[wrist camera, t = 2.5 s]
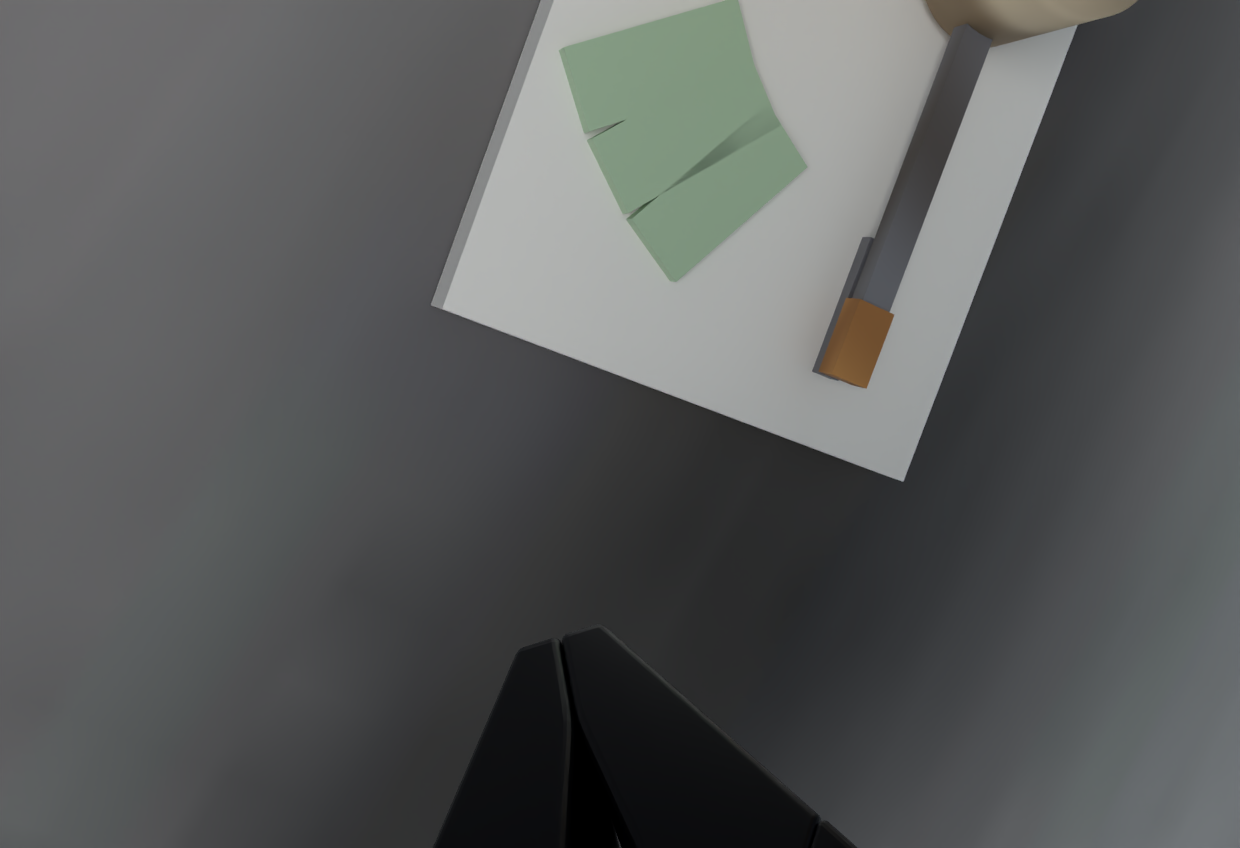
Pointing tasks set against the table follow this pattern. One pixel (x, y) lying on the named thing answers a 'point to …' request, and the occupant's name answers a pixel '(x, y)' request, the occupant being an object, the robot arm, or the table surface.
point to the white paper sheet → (741, 203)
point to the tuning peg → (936, 160)
